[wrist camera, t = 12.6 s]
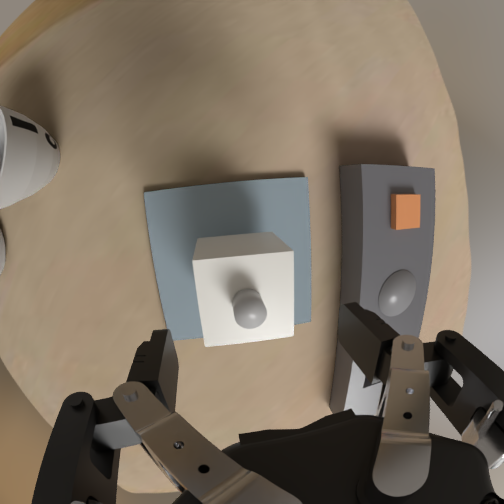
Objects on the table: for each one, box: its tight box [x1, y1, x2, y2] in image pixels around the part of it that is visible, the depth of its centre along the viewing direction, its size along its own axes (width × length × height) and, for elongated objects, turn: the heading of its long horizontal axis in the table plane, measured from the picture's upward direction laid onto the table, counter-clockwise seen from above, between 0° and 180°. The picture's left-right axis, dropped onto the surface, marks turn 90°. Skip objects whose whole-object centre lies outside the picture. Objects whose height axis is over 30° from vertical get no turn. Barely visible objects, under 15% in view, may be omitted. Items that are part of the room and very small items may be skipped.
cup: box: [0, 105, 60, 209], centre depth 14 cm, size 8×8×10 cm
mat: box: [144, 177, 311, 340], centre depth 24 cm, size 14×14×1 cm
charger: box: [192, 232, 294, 347], centre depth 19 cm, size 6×6×10 cm
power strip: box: [329, 164, 435, 415], centre depth 26 cm, size 30×9×5 cm, turn 5°
